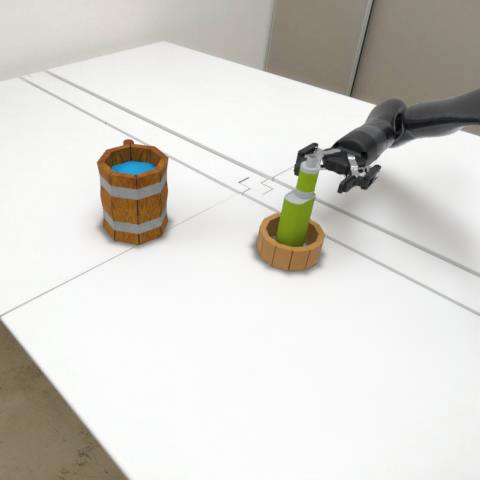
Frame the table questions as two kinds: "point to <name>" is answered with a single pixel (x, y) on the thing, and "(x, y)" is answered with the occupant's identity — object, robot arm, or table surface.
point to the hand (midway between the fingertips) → (317, 179)
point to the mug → (134, 192)
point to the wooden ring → (288, 255)
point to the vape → (299, 205)
